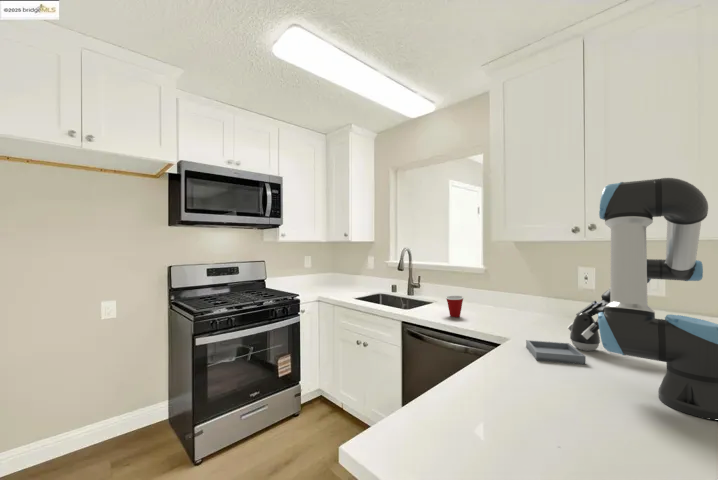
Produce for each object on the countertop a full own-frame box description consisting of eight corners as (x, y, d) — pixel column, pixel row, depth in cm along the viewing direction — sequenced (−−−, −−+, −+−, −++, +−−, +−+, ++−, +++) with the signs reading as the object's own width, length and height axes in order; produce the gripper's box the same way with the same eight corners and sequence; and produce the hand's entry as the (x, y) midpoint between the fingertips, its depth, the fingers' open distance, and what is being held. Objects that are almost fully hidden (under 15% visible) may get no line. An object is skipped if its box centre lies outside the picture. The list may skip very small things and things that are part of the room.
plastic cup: (441, 315, 197) (441, 296, 197) (455, 313, 201) (455, 294, 201) (453, 319, 187) (453, 298, 187) (467, 317, 191) (467, 297, 192)
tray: (585, 364, 115) (585, 356, 115) (536, 360, 119) (536, 352, 119) (569, 350, 130) (569, 343, 130) (526, 347, 134) (526, 340, 134)
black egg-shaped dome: (571, 350, 130) (571, 313, 130) (568, 344, 139) (568, 309, 139) (602, 354, 125) (602, 316, 125) (597, 347, 134) (596, 311, 135)
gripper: (645, 307, 120) (601, 348, 121) (605, 298, 142) (568, 332, 143) (630, 293, 121) (586, 334, 122) (592, 286, 143) (556, 320, 144)
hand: (576, 333), depth 133 cm, fingers closed on black egg-shaped dome, 10 cm apart
